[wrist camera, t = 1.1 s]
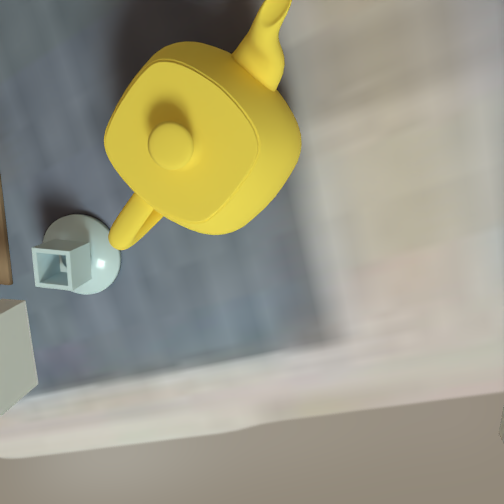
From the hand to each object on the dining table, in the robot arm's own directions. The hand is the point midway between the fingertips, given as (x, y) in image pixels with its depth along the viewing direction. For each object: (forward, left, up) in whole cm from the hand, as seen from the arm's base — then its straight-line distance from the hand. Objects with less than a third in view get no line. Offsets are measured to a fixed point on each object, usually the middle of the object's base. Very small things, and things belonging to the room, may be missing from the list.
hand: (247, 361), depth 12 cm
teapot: (-5, -7, -28) cm, 29 cm away
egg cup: (+7, -21, -27) cm, 35 cm away
